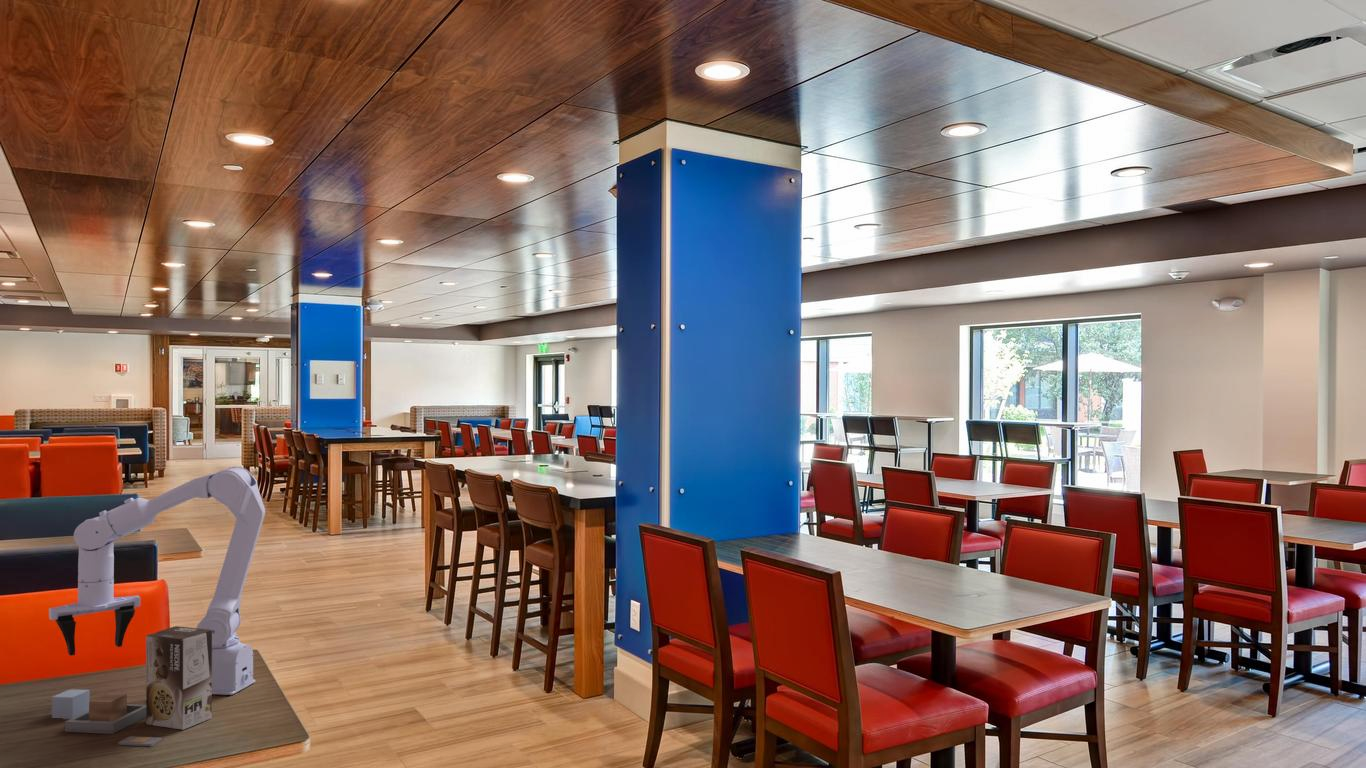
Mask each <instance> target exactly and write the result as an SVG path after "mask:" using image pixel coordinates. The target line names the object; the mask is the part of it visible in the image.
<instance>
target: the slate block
mask: <svg viewBox="0 0 1366 768" xmlns="http://www.w3.org/2000/svg"><path fill="white" fill-rule="evenodd" d="M90 690H91V689H76V688H75V689H67V690H65V691H63V692H61V693H58V694H56V695H53V696H52V697H51V719H52V718H63V719H62V720H70V719H72V718H74V717H76V716H78V715H81V714H83V713H85V712H87V711H89V701H91V700H90V699H91V697H90V696H91V695H90V693H91V691H90Z"/></svg>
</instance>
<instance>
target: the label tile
mask: <svg viewBox="0 0 1366 768" xmlns="http://www.w3.org/2000/svg"><path fill="white" fill-rule="evenodd" d="M163 740H164V739H163V737H152V736H131V735H130V736H128V737H126V738H124V739H122V740H120V741H119V742H117V743H118V746H137V747H154V746H155V745H157V744H158V743H160V742H162V741H163Z"/></svg>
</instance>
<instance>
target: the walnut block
mask: <svg viewBox="0 0 1366 768" xmlns="http://www.w3.org/2000/svg"><path fill="white" fill-rule="evenodd" d="M127 704H128V694H127V693H104V694H102V695H99V696H98V697H95V698H93V699H92V700H90V701H89V721H108V722H113V721H115V720H117V719H119V718H121V717H123V716H125V715H127Z"/></svg>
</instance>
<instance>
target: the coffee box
mask: <svg viewBox="0 0 1366 768" xmlns="http://www.w3.org/2000/svg"><path fill="white" fill-rule="evenodd" d="M145 660H146V661H145V664H146V665H145V671H146V672H145V673H146V674H145V675H146V677H145V680H146V681H145V684H146V685H145V690H146V692H145V693H146V695H145V696H146V698H145V699H146V701H145V703H146V704H145V705H146V717H145V720H146V723H145V724H146V725H149V726H155V727H163V728H168V729H175V730H183V731H184V730H186V729H189V728H191V727H193V726H197V725H198V724H201V723H203V722H206V721H208V720H211V719H212V717H213V715H212V708H213V707H212V695H213V694H212V630H208V629H199V628H197V627H188V626H177V625H176V626H172V627H167V628H165V629H163V630H157V631H156V632H154V633H150V634H147V635H145Z"/></svg>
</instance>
